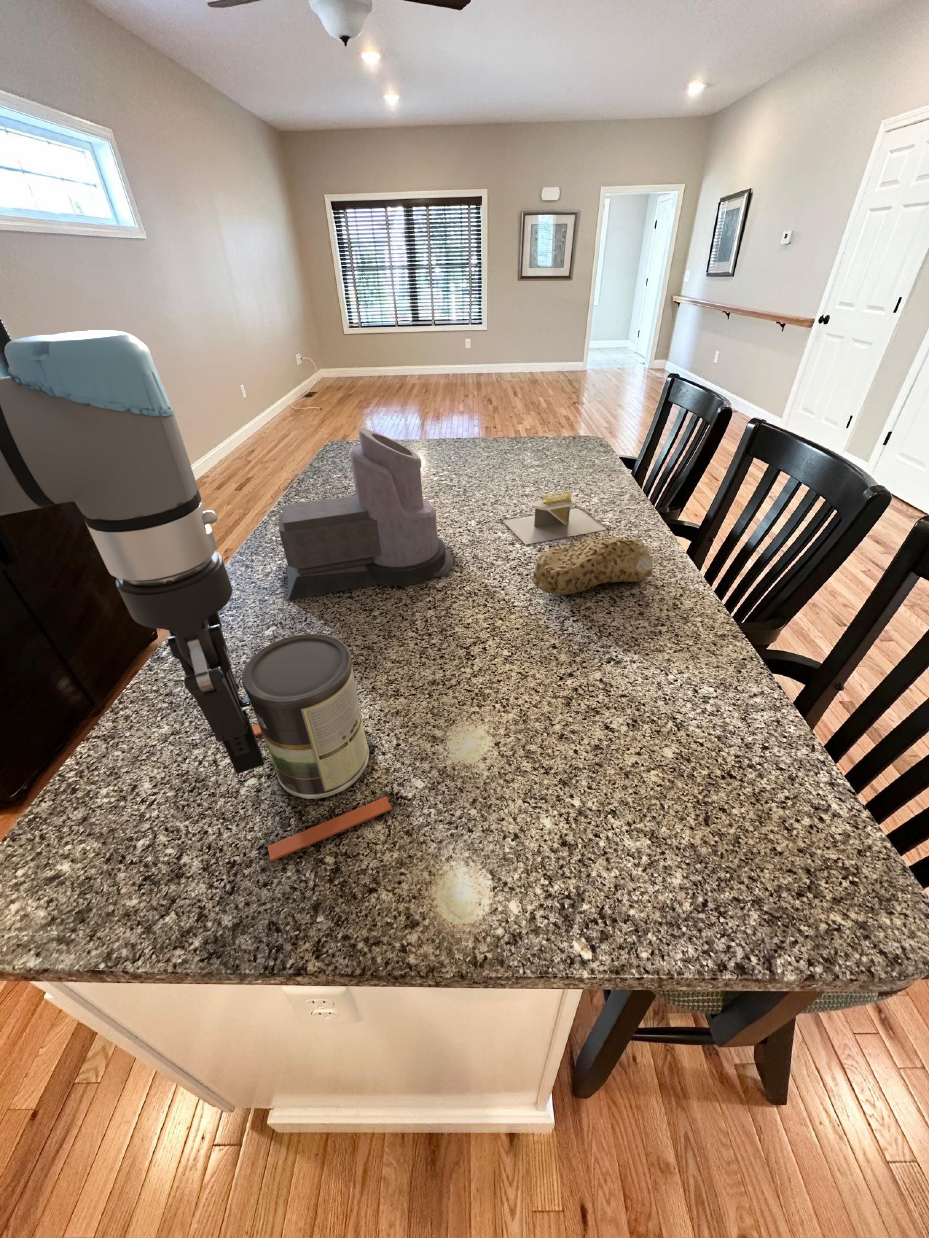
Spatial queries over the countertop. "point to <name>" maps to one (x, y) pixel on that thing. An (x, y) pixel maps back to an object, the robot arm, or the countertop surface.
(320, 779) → the coffee can
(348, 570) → the machine
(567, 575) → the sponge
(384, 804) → the strips
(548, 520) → the platform
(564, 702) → the countertop surface
